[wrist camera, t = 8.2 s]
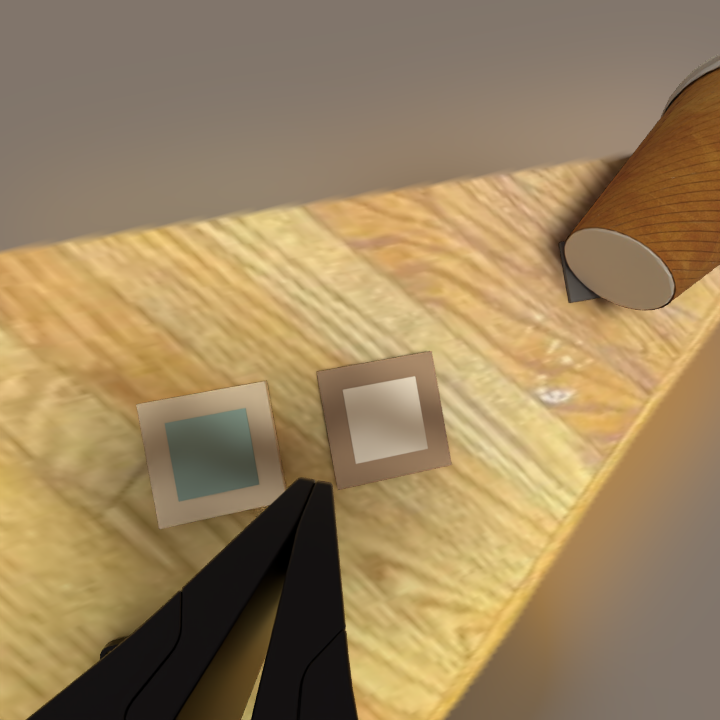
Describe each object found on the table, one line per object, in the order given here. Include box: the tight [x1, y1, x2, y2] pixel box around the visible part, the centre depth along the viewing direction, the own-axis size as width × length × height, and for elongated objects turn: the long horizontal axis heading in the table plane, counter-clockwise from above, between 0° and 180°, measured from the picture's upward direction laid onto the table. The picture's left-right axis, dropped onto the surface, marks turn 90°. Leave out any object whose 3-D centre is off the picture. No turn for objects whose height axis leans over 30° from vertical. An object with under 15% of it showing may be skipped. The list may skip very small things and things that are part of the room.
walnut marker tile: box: [317, 351, 452, 490], centre depth 22 cm, size 7×7×1 cm
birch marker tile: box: [136, 381, 286, 529], centre depth 20 cm, size 7×7×1 cm
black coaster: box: [559, 241, 601, 303], centre depth 24 cm, size 4×4×1 cm
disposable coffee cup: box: [564, 54, 720, 310], centre depth 20 cm, size 10×10×12 cm
